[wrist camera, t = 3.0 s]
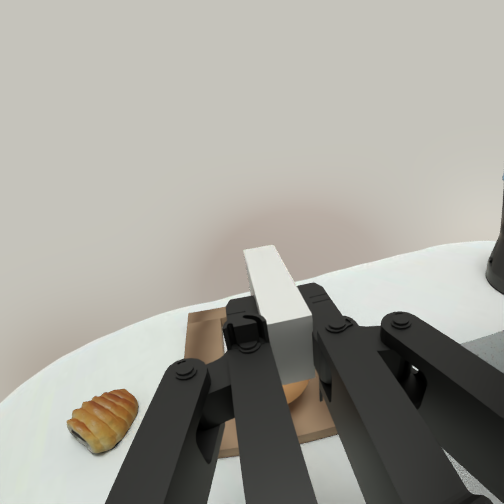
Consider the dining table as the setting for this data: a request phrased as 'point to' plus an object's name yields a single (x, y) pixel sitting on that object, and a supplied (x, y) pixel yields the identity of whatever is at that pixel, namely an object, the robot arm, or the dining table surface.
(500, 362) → the ceramic mug
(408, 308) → the dining table surface
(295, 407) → the hole board
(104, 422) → the pastry
